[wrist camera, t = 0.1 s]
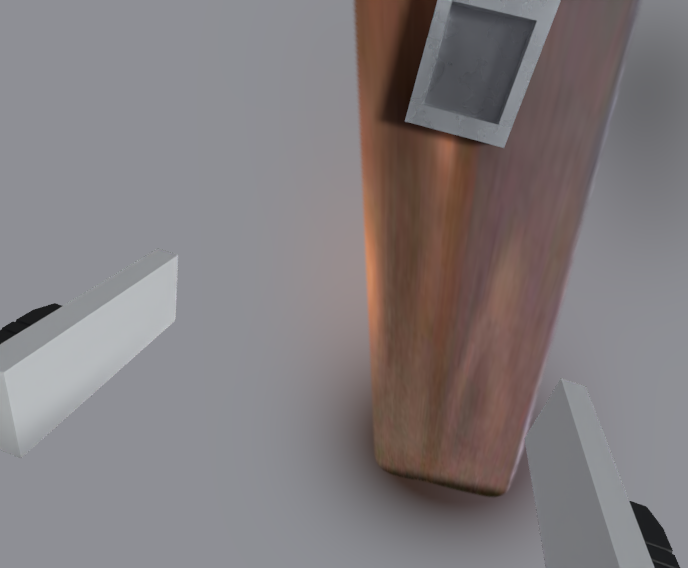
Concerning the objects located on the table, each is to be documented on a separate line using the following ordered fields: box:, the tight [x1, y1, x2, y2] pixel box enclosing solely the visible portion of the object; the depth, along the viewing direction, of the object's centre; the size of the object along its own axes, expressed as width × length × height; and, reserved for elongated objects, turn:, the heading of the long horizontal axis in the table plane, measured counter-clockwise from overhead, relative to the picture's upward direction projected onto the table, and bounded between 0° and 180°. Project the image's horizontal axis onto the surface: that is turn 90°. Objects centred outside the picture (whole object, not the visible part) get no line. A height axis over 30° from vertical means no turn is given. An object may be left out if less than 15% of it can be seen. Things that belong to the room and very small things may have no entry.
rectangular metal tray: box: [405, 0, 561, 148], centre depth 34 cm, size 10×8×2 cm
